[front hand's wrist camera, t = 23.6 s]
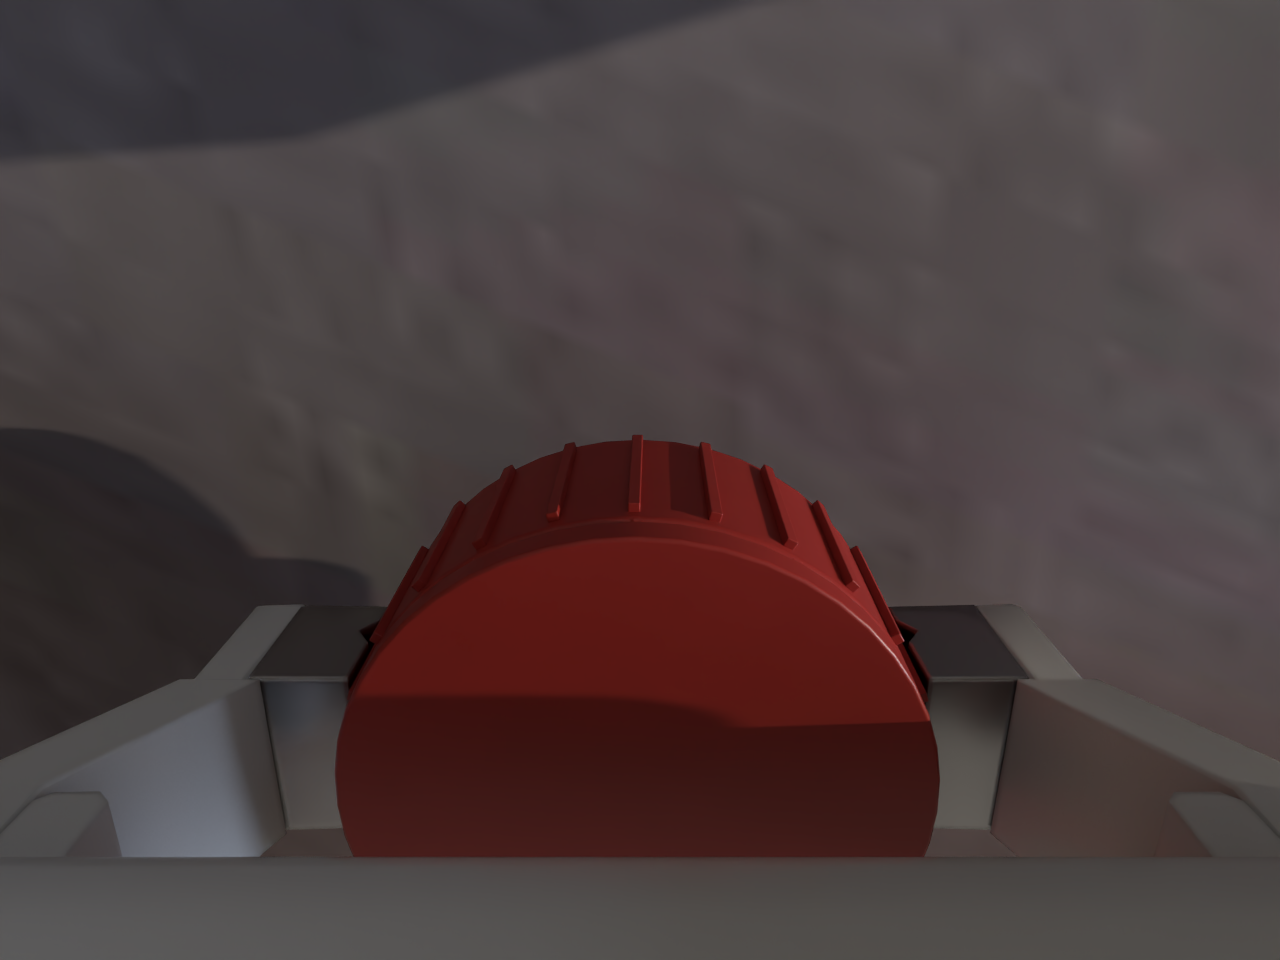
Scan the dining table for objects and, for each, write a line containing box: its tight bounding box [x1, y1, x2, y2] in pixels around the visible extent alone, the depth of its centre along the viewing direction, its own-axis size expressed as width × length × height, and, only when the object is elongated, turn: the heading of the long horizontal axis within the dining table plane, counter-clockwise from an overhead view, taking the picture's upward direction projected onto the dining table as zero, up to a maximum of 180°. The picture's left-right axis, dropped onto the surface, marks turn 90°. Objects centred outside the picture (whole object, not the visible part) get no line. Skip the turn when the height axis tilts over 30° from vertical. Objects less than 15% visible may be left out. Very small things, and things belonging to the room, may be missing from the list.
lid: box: [335, 435, 940, 857], centre depth 9 cm, size 6×6×2 cm
